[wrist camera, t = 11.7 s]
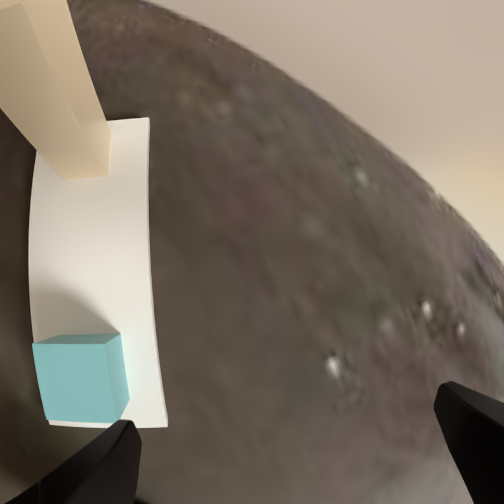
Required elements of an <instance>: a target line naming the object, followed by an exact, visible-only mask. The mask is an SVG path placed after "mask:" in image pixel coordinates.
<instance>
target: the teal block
mask: <svg viewBox="0 0 504 504" xmlns="http://www.w3.org/2000/svg"><path fill="white" fill-rule="evenodd" d="M32 347H33V354H34V361H35V367H36V373H37V378H38V384H39V389H40V394H41V398H42V403H43V407H44V411H45V416H46V420H56V421H70V422H89V423H115V422H116V421H117V420H119V419H120V418H121V416H122V414H123V412H124V410H125V408H126V406H127V404H128V402H129V400H130V396H129V390H128V383H127V377H126V370H125V363H124V356H123V348H122V339H121V334H96V335H58V336H55V337H52V338H49V339H45V340H42V341H39V342H36V343H33V344H32Z"/></svg>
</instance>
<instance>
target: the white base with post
mask: <svg viewBox="0 0 504 504" xmlns="http://www.w3.org/2000/svg"><path fill="white" fill-rule="evenodd" d="M0 108H1V109H2V111H3V112H4V113H5V114H6V115H7V116H8V118H9V119H10V120H11V121H12V122H13V124H14V125H15V126H16V127H17V128H18V129H19V131H20V132H21V133H22V134H23V135H24V136H25V137H26V139H27V140H28V141H29V142H30V143H31V144H32V145H33V146H34V148H35V149H36V150H37V152H36V159H35V166H34V174H33V183H32V193H31V204H30V220H29V294H30V309H31V321H32V331H33V339H34V343H36V342H39V341H42V340H45V339H49V338H52V337H55V336H58V335H96V334H121V339H122V348H123V356H124V363H125V370H126V377H127V383H128V390H129V396H130V400H129V402H128V404H127V406H126V408H125V410H124V412H123V414H122V416H121V418H120V419H126V420H132V421H133V422H134V424H135V426H136V428H153V427H167V426H168V418H167V412H166V406H165V399H164V393H163V386H162V379H161V372H160V364H159V356H158V347H157V338H156V329H155V318H154V307H153V295H152V281H151V264H150V242H149V200H148V177H149V135H150V122H149V118H135V119H124V120H113V121H106V119H105V116H104V114H103V111H102V108H101V106H100V103H99V100H98V98H97V95H96V92H95V89H94V87H93V84H92V81H91V78H90V75H89V72H88V69H87V66H86V63H85V60H84V57H83V54H82V51H81V48H80V45H79V42H78V39H77V35H76V32H75V29H74V25H73V22H72V19H71V15H70V12H69V8H68V5H67V1H66V0H0ZM49 424H50V425H60V426H74V427H94V428H108V427H110V426H111V425H112V424H113V423H89V422H70V421H56V420H49Z"/></svg>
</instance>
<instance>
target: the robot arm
mask: <svg viewBox="0 0 504 504" xmlns="http://www.w3.org/2000/svg"><path fill="white" fill-rule="evenodd" d="M434 411H435V414H436V417H437V419H438V422H439V425H440V427H441V430H442V433H443V436H444V438H445V441H446V444H447V446H448V449H449V451H450V453H451V455H452V457H453V459H454V461H455V463H456V465H457V468H458V470H459V472H460V474H461V476H462V478H463V480H464V482H465V485H466V487H467V489H468V491H469V493H470V496H471V498H472V500H473V502H474V504H504V403H503V402H500V401H498V400H496V399H493V398H491V397H488V396H486V395H484V394H481V393H479V392H477V391H474V390H472V389H470V388H467V387H465V386H463V385H460V384H458V383H456V382H453V381H449V382H446V383H443V384H441V385H440V386H439V388H438V392H437V395H436V399H435V402H434ZM141 447H142V442H141V438H140V436H139V433H138V431H137V429H136V426H135V424H134V422H133V421H132V420H126V419H119V420H117V421H116V422H115V423H113V424H112V425H111V426H110V427H108V428H107V429H106V430H105V431H103V432H102V433H101V434H100V435H98V436H97V437H96V438H95V439H93V440H92V441H91V442H89V443H88V444H87V445H86V446H84V447H83V448H82V449H81V450H79V451H78V452H77V453H75V454H74V455H73V456H71V457H70V458H69V459H68V460H66V461H65V462H64V463H62V464H61V465H60V466H58V467H57V468H56V469H54V470H53V471H52V472H50V473H49V474H48V475H46V476H45V477H44V478H42V479H41V480H40V482H39V481H38V482H37V483H36V484H34V485H33V486H31V487H30V488H29V489H27V490H26V491H24V492H23V493H21V494H20V495H18V496H17V497H15V498H13V499H12V500H10V501H8V502H6V503H5V504H140V503H138V502H135V501H134V498H135V494H136V489H137V482H138V473H139V464H140V455H141Z"/></svg>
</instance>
